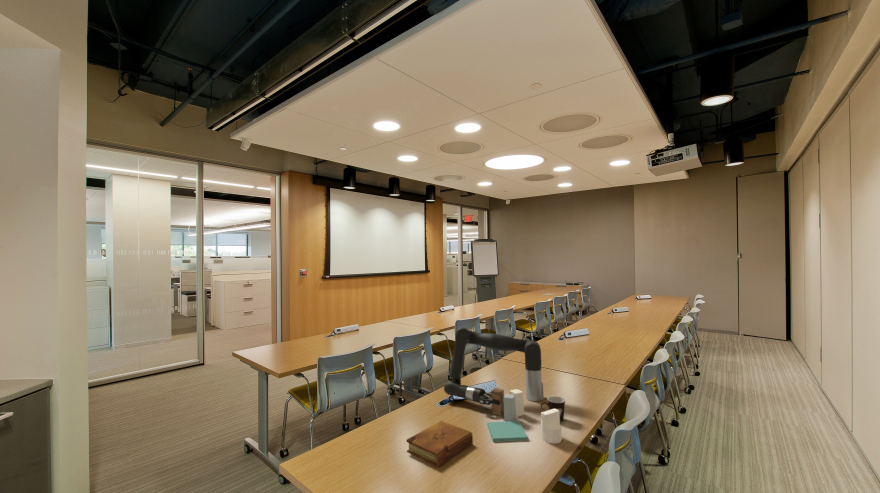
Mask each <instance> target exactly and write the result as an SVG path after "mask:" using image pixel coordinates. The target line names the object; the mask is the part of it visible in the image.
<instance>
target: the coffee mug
mask: <svg viewBox="0 0 880 493" xmlns="http://www.w3.org/2000/svg"><path fill="white" fill-rule="evenodd" d="M544 404H546V405H547V406H548V410H551V409H554V408H555V409H557V410H559V414H560V423H562V422H564V418H565V408H566V407H565V406H566V398H564V397H561V396H556V395H555V396H547V402H546V401H543V402H542V403H541V404H540V408H541V409H542V411H543V412H544V411H546V410H545V409H544V408H543V405H544Z"/></svg>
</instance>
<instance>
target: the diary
mask: <svg viewBox="0 0 880 493" xmlns="http://www.w3.org/2000/svg"><path fill="white" fill-rule="evenodd" d="M473 442H474V441H473V433H472V432H471V431H470V430H467V429H464V428H461V427H459V426H456V425H453V424H451V423H449V422H448V423H447V422H446V421H444V420H443V421H442V420H440V421H438V422H437V423H434V424H433V425H431V426H429V427H427V428H425V429H424V430H421V431H420V432H418V433H416V434H415V435H412V436H411V437H409V438H406V443H408V449H407V450H406V452H407V453H408V452H409V453H408V454H410V453H411V455H412V454H413V456H414V457H416V456H417V457H416V458H418V457H419V458H418V459H420V458H421V459H420V460H422V459H423V460H422V461H424V460H425V462H426V461H427V462H426V463H428V462H429V463H428V464H430V463H431V464H430V465H431V466H432V465H433V466H434V467H436V468H439V467H440V466H441V465H443V464H445V463H446V462H448V461H449V460H451V459H452V458H453V457H455V456H456V455H458V454H459V453H461V452H462V451H464V450H466V447H467V448H468V447H469V445H470V446H471V445H473V444H474V443H473Z"/></svg>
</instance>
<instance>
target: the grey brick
mask: <svg viewBox="0 0 880 493" xmlns="http://www.w3.org/2000/svg"><path fill="white" fill-rule="evenodd" d="M503 417H504V418H503V419H504V421H503V422H506V421H516V417H515V395H512V394H510V393H504V413H503Z"/></svg>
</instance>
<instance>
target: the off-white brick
mask: <svg viewBox="0 0 880 493" xmlns="http://www.w3.org/2000/svg"><path fill="white" fill-rule="evenodd" d="M509 394H512V395H515V418H518V417H522V416H524V414H525V412H524V409H525V407H524V392H523V391H522V390H520V389H518V388H514V389H511V390H509Z"/></svg>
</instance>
